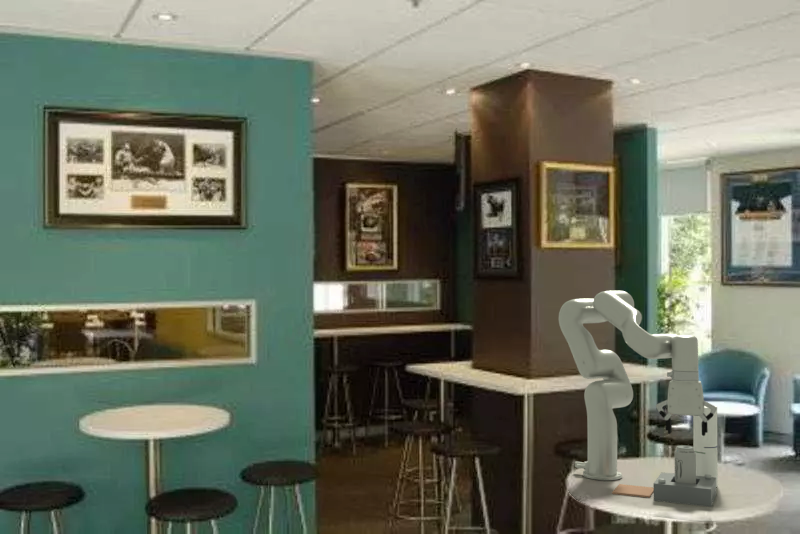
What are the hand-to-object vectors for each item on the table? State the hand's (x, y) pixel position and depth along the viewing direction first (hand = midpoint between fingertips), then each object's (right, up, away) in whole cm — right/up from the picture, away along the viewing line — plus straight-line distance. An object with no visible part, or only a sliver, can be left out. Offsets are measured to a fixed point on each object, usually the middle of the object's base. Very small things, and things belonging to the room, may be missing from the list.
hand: (686, 434), depth 251 cm
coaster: (-14, -19, +7) cm, 24 cm away
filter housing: (0, -19, 0) cm, 19 cm away
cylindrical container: (+11, -19, +15) cm, 27 cm away
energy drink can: (0, -19, 0) cm, 19 cm away
